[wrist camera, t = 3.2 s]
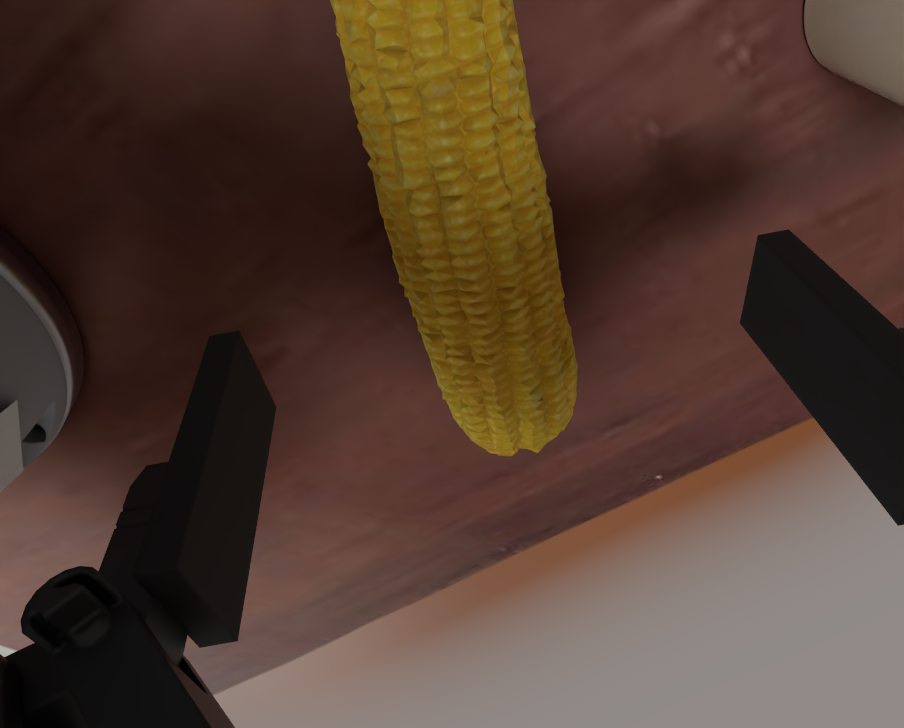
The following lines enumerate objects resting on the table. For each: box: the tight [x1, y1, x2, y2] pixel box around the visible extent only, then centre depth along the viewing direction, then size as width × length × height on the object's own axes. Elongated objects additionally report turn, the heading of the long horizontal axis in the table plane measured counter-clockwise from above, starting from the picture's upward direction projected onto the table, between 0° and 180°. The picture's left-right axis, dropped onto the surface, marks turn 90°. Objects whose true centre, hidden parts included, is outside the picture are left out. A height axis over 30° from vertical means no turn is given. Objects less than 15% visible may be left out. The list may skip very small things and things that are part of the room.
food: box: [330, 0, 578, 456], centre depth 20 cm, size 21×6×6 cm, turn 15°
